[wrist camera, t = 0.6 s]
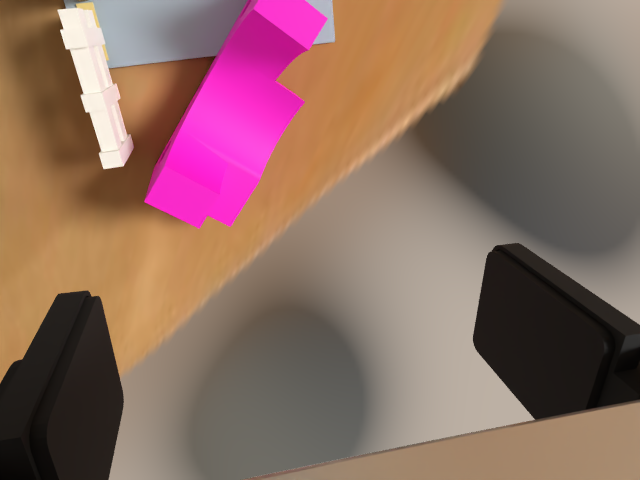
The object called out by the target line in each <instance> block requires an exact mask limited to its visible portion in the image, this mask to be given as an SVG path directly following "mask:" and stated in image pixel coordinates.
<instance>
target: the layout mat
mask: <svg viewBox="0 0 640 480" xmlns="http://www.w3.org/2000/svg"><path fill="white" fill-rule="evenodd" d="M305 1H307V2H308V3H309V4H310V5H312V6H313V7H314V8H315V9H317V10H318V11H319V12H320V13H322V14H323V15H324V16H326V17H327V18H328V20H327V21H326V23H325V25H324V26H323V28H322V29H321V31H320V33H319V34H318V36H317V38H316V39H315V41H314V42H313V44H321V43H329V42H335V33H334V20H333V7H332V0H305ZM246 2H247V0H88V1H77V0H64V3H65V7H66V9H70V8H81V9H83V10H92V12H93V16H94V19H95V23H96V26H97V28H101V29H102V33H103V37H104V40H105V44H103V45H102V48H103V51H104V55H105V58H106V62H107V65H108V68H115V67H123V66H132V65H141V64H149V63H158V62H166V61H175V60H183V59H192V58H201V57H209V56H217V54H218V52H219V50H220V48H221V47H222V45H223V43H224V41H225V40H226V38H227V36H228V34H229V32H230V31H231V29H232V27H233V25H234V23H235V22H236V20H237V18H238V16H239V15H240V13H241V11H242V9H243V7H244V6H245V4H246Z"/></svg>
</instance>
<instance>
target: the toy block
mask: <svg viewBox="0 0 640 480" xmlns="http://www.w3.org/2000/svg"><path fill="white" fill-rule="evenodd" d="M327 20H328V18H327V17H326V16H324V15H323V14H322V13H320V12H319V11H318V10H317V9H315V8H314V7H313V6H312V5H310V4H309V3H308V2H307V1H305V0H247V2H246V4H245V6H244V7H243V9H242V11H241V13H240V15H239V16H238V18H237V20H236V22H235V23H234V25H233V27H232V29H231V31H230V32H229V34H228V36H227V38H226V40H225V41H224V43H223V45H222V47H221V48H220V50H219V52H218V54H217V56H216V57H215V59H214V61H213V63H212V65H211V66H210V68H209V70H208V72H207V74H206V75H205V77H204V79H203V81H202V82H201V84H200V86H199V88H198V90H197V91H196V93H195V95H194V97H193V99H192V100H191V102H190V104H189V106H188V107H187V109H186V111H185V113H184V115H183V116H182V118H181V120H180V122H179V124H178V125H177V127H176V129H175V131H174V133H173V134H172V136H171V138H170V140H169V141H168V143H167V145H166V147H165V149H164V150H163V152H162V154H161V156H160V158H159V159H158V161H157V163H156V165H155V166H154V170H153V173H152V177H151V180H150V184H149V187H148V191H147V194H146V197H145V201H144V202H145V203H147V204H149V205H151V206H153V207H156V208H158V209H160V210H162V211H164V212H166V213H168V214H170V215H172V216H174V217H176V218H178V219H180V220H183V221H185V222H187V223H189V224H191V225H193V226H195V227H197V228H199V229H200V227H201V225H202V224H203V222H204V220H205V219H206V217H207V215H208V216H210V217H212V218H214V219H216V220H218V221H220V222H222V223H224V224H226V225H228V226H230V227H231V225H232V224H233V222H234V220H235V219H236V217H237V216H238V214H239V213H240V211H241V209H242V208H243V206H244V205H245V203H246V201H247V200H248V198H249V197H250V195H251V194H252V192H253V190H254V189H255V187H256V186H257V184H258V182H259V181H260V178H261V175H262V173H263V170H264V168H265V166H266V164H267V161H268V159H269V157H270V155H271V153H272V151H273V149H274V147H275V146H276V144H277V142H278V140H279V138H280V137H281V135H282V133H283V132H284V130H285V129H286V127H287V126H288V124H289V123H290V121H291V120H292V118H293V117H294V115H295V114H296V113H297V111H298V110H299V109H300V108H301V106H302V105H303V104H304V103H305V102H304V101H303V100H302V99H301V98H300V97H298V96H297V95H296V94H295V93H293V92H292V91H290V90H289V89H287V88H286V87H284V86H283V85H281V84H280V83H278V82H277V81H276V79H277V78H278V77H279V75H280V74H281V73H282V72H283V71H284V69H285V68H286V67H287V66H288V65H289V64H290V63H291V62H292V61H293V60H294V59H295V58H296V57H297V56H299V55H300V54H301V53H303V52H305V51H308V50H309V49H310V47H311V46H312V44H313V42H314V41H315V39H316V38H317V36H318V34H319V33H320V31H321V29H322V28H323V26H324V25H325V23H326V21H327Z"/></svg>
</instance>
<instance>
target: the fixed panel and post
mask: <svg viewBox="0 0 640 480" xmlns="http://www.w3.org/2000/svg"><path fill="white" fill-rule="evenodd" d="M77 1H88V0H77ZM58 13H59V16H60V19H61V22H62V25H63V30H60V32H61V35H62V38H63V41H64V44H65V48H66V49H70V51H71V55H72V58H73V61H74V64H75V67H76V71H77V74H78V77H79V80H80V84H81V87H82V90H83V93H84V94H82V95H80V96H81V99H82V102H83V105H84V108H85V111H86V113H87V112H89V113H90V116H91V119H92V122H93V126H94V129H95V132H96V135H97V138H98V142H99V145H100V148H101V151H100V153H99V156H100V159H101V163H102V166H103V169H108V168H115V167H122V166H124V164H125V163H126V161H127V159H128V157H129V156H130V154H131V152H132V150H133V149H134V145H133V141H132V138H131V134H127V133H126V130H125V126H124V123H123V119H122V115H121V112H120V108H119V105H118V100H119V99H120V94H119V91H118V87H117V84H116V83H115V84H113V83H112V80H111V76H110V73H109V69H108V65H107V62H106V58H105V55H104V51H103V48H102V45H103V44H105V40H104V37H103V33H102V29H101V28H97V26H96V23H95V19H94V16H93V12H92V10H83V9H81V8H70V9H60V10H58Z"/></svg>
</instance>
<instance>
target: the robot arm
mask: <svg viewBox="0 0 640 480" xmlns="http://www.w3.org/2000/svg"><path fill="white" fill-rule="evenodd" d="M473 343H474V346H475V348H476V350H477V352H478V353H479V354H480V355H481V356H482V358H483V359H484V360H485V361H486V362H487V364H488V365H489V366H490V367H491V368H492V369H493V371H494V372H495V373H496V374H497V375H498V376H499V378H500V379H501V380H502V381H503V382H504V383H505V385H506V386H507V387H508V388H509V389H510V391H511V392H512V393H513V394H514V395H515V396H516V398H517V399H518V400H519V401H520V402H521V403H522V405H523V406H524V407H525V408H526V409H527V411H528V412H529V413H530V414H531V415H532V416H533V418H534V419H535V420H533V421H527V422H522V423H517V424H512V425H506V426H502V427H496V428H491V429H486V430H481V431H476V432H471V433H467V434H461V435H456V436H451V437H446V438H442V439H437V440H431V441H427V442H422V443H417V444H412V445H407V446H402V447H397V448H392V449H388V450H382V451H377V452H372V453H367V454H363V455H358V456H353V457H348V458H343V459H338V460H334V461H329V462H324V463H319V464H315V465H310V466H305V467H300V468H295V469H290V470H286V471H281V472H276V473H271V474H266V475H262V476H257V477H252V478H247V479H242V480H640V325H639V324H637V323H636V322H635V321H633V320H631V319H630V318H628V317H627V316H626V315H624V314H623V313H621V312H620V311H618V310H617V309H615V308H614V307H612V306H611V305H610V304H608V303H607V302H605V301H604V300H602V299H600V298H599V297H598V296H596V295H595V294H593V293H592V292H590V291H589V290H588V289H585V287H583V286H581V285H580V284H579V283H577V282H576V281H574V280H573V279H571V278H570V277H568V276H567V275H565V274H564V273H562V272H561V271H560V270H558V269H557V268H555V267H553V266H552V265H551V264H549V263H548V262H546V261H545V260H543V259H542V258H540V257H539V256H537V255H536V254H535V253H533V252H531V251H530V250H529V249H527V248H526V247H524V246H523V245H521V244H519V243H514V244H505V245H497V246H495V247H494V249H493V250H492V252H489V253H488V255H487V258H486V264H485V270H484V276H483V282H482V287H481V293H480V299H479V305H478V311H477V317H476V322H475V328H474V334H473ZM123 400H124V399H123V390H122V386H121V382H120V377H119V373H118V369H117V365H116V360H115V356H114V352H113V348H112V343H111V339H110V335H109V331H108V327H107V322H106V318H105V314H104V310H103V305H102V302H101V299H100V297H99V296H94V297H91V294H90V292H89V291H79V292H70V293H61V294H58V295H57V296H56V298H55V300H54V302H53V304H52V306H51V307H50V309H49V311H48V313H47V315H46V317H45V319H44V320H43V322H42V324H41V326H40V328H39V330H38V332H37V333H36V335H35V337H34V339H33V341H32V343H31V345H30V346H29V348H28V350H27V352H26V354H25V356H24V358H23V359H22V360H18V361H15V362H13V364H12V365H11V366H10V368H9V369H8V371H7V373H6V375H5V376H4V378H3V380H2V382H1V383H0V480H108V479H109V474H110V469H111V464H112V460H113V455H114V450H115V445H116V440H117V435H118V431H119V426H120V421H121V416H122V410H123V403H124V401H123Z"/></svg>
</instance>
